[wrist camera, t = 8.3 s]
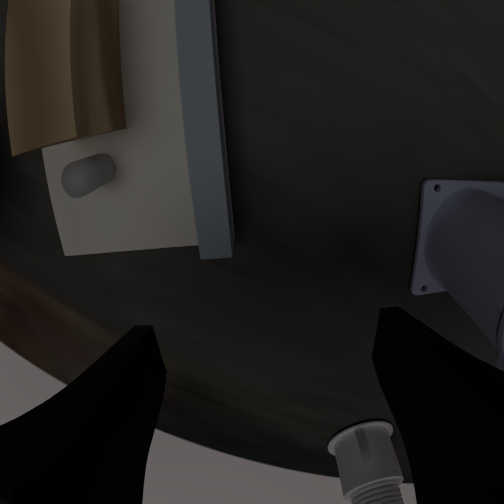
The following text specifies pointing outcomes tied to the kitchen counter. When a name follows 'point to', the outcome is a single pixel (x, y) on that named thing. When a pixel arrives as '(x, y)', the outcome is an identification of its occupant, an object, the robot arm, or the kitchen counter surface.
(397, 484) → the white threaded pipe fitting
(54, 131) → the brown tapered block
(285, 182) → the kitchen counter surface
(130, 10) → the board
